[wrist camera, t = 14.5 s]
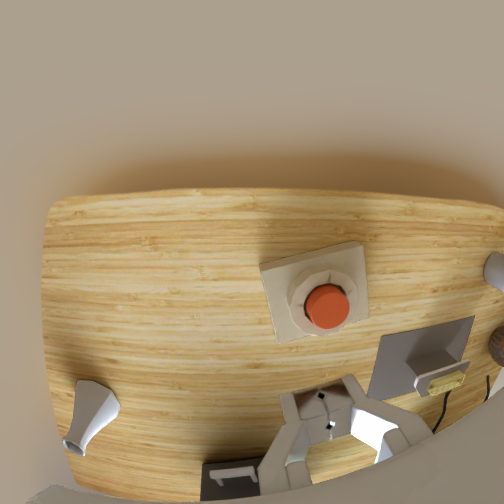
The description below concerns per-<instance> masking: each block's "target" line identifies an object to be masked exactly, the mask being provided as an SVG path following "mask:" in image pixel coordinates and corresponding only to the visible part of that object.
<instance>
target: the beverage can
mask: <svg viewBox="0 0 504 504" xmlns="http://www.w3.org/2000/svg"><path fill="white" fill-rule="evenodd" d="M484 278H485V281H486V282H487V283H488V284H490V285H492V286H494V287H495V288H497V289H499V290H501V291H502V292H504V255H503V254H500V253H498V252H497V253H494V254H492V255H490V257H489V258H488V259H487V261H486V263H485V266H484Z"/></svg>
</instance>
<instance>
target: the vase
mask: <svg viewBox="0 0 504 504" xmlns="http://www.w3.org/2000/svg"><path fill="white" fill-rule="evenodd" d="M489 352H490V355H491V357H492V359H493V360H494V361H495V362H496V363H497V364H498V365H500V366H502V367H504V326H502V327H500V328H498V329H497V330H496V331H495V332H494V333H493V335H492V337H491V339H490V342H489Z"/></svg>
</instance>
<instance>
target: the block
mask: <svg viewBox="0 0 504 504" xmlns="http://www.w3.org/2000/svg"><path fill="white" fill-rule="evenodd" d="M259 268H260V272H261V277H262V281H263V285H264V289H265V293H266V297H267V302H268V306H269V310H270V314H271V318H272V322H273V327H274V331H275V335H276V339H277V342H278V344H280V343H284V342H288V341H291V340H295V339H299V338H303V337H306V336H310V335H317V336H325V335H328V334H331V333H335V332H338V331H339V330H341V329H342V328H343V327H344V326H345V325H347V324H350V323H354V322H357V321H360V320H363V319H366V318H369V302H368V288H367V276H366V266H365V257H364V248H363V245H362V244H360V243H358V242H357V241H355V240H353V241H349V242H346V243H342V244H338V245H334V246H330V247H326V248H322V249H318V250H314V251H310V252H306V253H302V254H298V255H294V256H290V257H286V258H282V259H278V260H274V261H270V262H266V263H262V264H259ZM324 285H332V286H335V287H337V288H338V289H339V290H340V291H341V292H342V293H343V294H344V295H345V296H346V298H347V299H348V301H349V305H350V309H349V314H348V316H347V318H346V319H345V321H344V322H343V323H342V324H340V325H339V326H337V327H335V328H332V329H322V328H319V327H317V326H316V325H315V324H314V323H313V322H312V320H311V318H310V316H309V314H308V312H307V309H306V303H307V299H308V297H309V295H310V294H311V293H312V292H313V291H314V290H315V289H317V288H318V287H321V286H324Z"/></svg>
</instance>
